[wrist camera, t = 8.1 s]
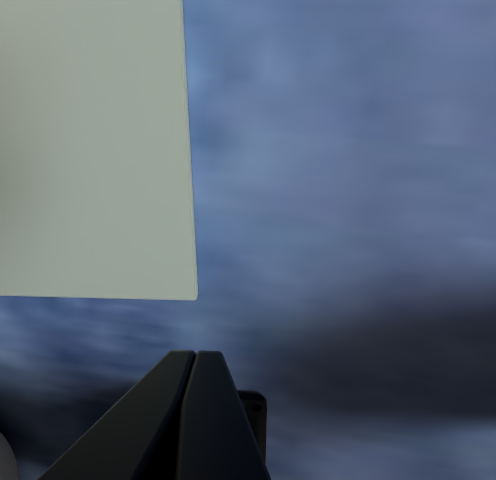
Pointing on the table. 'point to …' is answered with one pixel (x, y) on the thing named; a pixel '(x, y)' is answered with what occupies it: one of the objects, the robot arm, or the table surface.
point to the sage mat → (95, 151)
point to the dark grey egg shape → (7, 461)
